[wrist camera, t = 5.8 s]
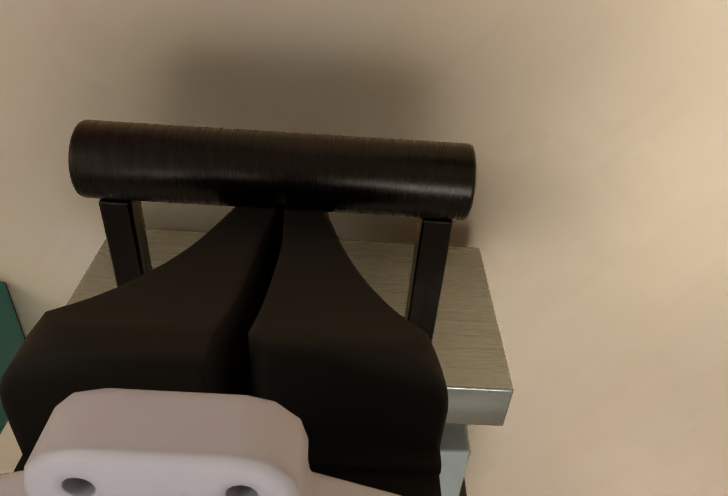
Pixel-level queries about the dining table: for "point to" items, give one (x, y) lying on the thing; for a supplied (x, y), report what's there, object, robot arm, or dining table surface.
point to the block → (7, 339)
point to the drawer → (324, 194)
